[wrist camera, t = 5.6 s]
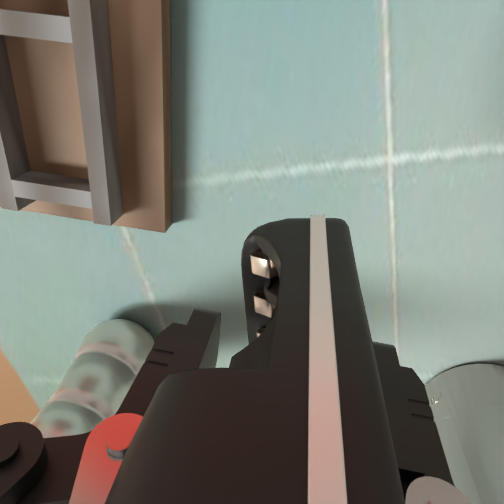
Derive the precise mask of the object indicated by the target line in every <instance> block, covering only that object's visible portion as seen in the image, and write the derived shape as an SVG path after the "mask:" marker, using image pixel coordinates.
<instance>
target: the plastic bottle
mask: <svg viewBox="0 0 504 504" xmlns="http://www.w3.org/2000/svg"><path fill="white" fill-rule="evenodd" d="M154 343H155V342H154V339H153V338H152V336H151V335H150V333H149V332H148V331H147V330H146V329H145V328H143V327H142V326H140V325H139V324H137V323H135V322H132V321H129V320H125V319H114V320H108V321H105V322H102V323H100V324H99V325H97V326H96V327H95V328H94V329H93V330H92V331H91V332H90V333H88V334H87V335H86V337H85V338H84V340H83V342H82V344H81V345H80V347H79V349H78V351H77V353H76V356H75V358H74V361H73V363H72V365H71V367H70V368H69V370H68V372H67V373H66V375H65V376H64V378H63V380H62V381H61V383H60V385H59V386H58V388H57V390H56V391H55V393H54V394H53V396H52V397H51V398H50V399H49V401H48V402H47V403H46V405H45V406H44V407H43V408H42V409H41V411H40V412H39V413H38V414H37V416H36V417H35V418H34V419H33V420H32V422H31V423H30V424H32V425H34V426H36V427H37V428H38V429H39V430H40V431H41V433H42V436H43V438H51V437H61V436H70V435H78V434H83V433H87V432H90V431H92V430H93V429H94V428H95V427H96V426H97V425H98V424H99V423H101V422H102V421H103V420H105V419H107V418H109V417H111V416H114V415H115V413H116V412H117V411H118V409H119V407H120V406H121V404H122V402H123V400H124V398H125V396H126V395H127V393H128V391H129V389H130V387H131V385H132V383H133V382H134V380H135V378H136V376H137V374H138V372H139V371H140V369H141V367H142V365H143V363H145V360H146V358H147V356H148V354H149V352H150V351H151V350H152V347H153V345H154Z"/></svg>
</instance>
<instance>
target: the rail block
mask: <svg viewBox="0 0 504 504" xmlns="http://www.w3.org/2000/svg"><path fill="white" fill-rule="evenodd" d="M0 207H2V208H3V209H9V210H15V211H19V210H25V211H31V212H38V213H44V214H50V215H56V216H63V217H69V218H75V219H81V220H88V221H94V223H97V224H103V225H109V226H111V225H112V224H113V225H119V226H125V227H132V228H138V229H144V230H150V231H157V232H163V233H165V232H166V231H167V230H168V228H169V227H170V226H171V225H172V176H171V32H170V0H0Z"/></svg>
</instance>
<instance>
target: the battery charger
mask: <svg viewBox="0 0 504 504" xmlns="http://www.w3.org/2000/svg"><path fill="white" fill-rule="evenodd" d="M241 267H242V278H243V289H244V299H245V309H246V320H247V330H248V340H249V345H248V346H247V347H245V348H244V349H243V350H241V351H240V352H238V353H237V354H235V355H234V356H232V359H231V362H230V366H229V368H199V369H188V370H185V371H181V372H177V373H174V374H170V375H168V376H167V377H166V378H165V380H164V381H163V382H162V383H161V384H160V385H159V386H158V388H157V390H156V392H155V395H154V397H153V399H152V401H151V403H150V404H149V406H148V408H147V410H146V412H145V414H144V416H143V418H142V421H141V423H140V425H139V427H138V428H137V430H136V432H135V434H134V436H133V438H132V440H131V442H130V444H129V446H128V448H127V451H126V453H125V456H124V458H123V460H122V463H121V465H120V468H119V470H118V473H117V475H116V477H115V480H114V482H113V485H112V487H111V490H110V492H109V494H108V497H107V499H106V502H105V504H405V500H404V495H403V490H402V484H401V479H400V474H399V469H398V464H397V459H396V454H395V449H394V444H393V439H392V435H391V430H390V425H389V420H388V415H387V410H386V405H385V400H384V395H383V391H382V386H381V381H380V376H379V372H378V367H377V362H376V358H375V353H374V348H373V344H372V339H371V334H370V329H369V325H368V320H367V316H366V311H365V307H364V302H363V298H362V293H361V289H360V284H359V279H358V274H357V269H356V263H355V258H354V253H353V247H352V242H351V236H350V231H349V227H348V225H347V224H346V222H345V221H344V220H342V219H337V218H325V215H311V216H310V218H296V219H284V220H280V221H274V222H269V223H267V224H264V225H262V226H260V227H257V228H256V229H255V230H253V231H252V232H251V233H250V234H249V236H248V237H247V239H246V240H245V242H244V245H243V249H242V259H241Z"/></svg>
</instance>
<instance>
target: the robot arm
mask: <svg viewBox="0 0 504 504" xmlns="http://www.w3.org/2000/svg"><path fill="white" fill-rule="evenodd" d="M220 322H221V313H218V312H213V311H207V310H202V309H194V311H193V313H192V315H191V317H190V319H189V321H188V324H187V325H183V324H177V323H173V324H171V325H170V326H169V327H167V328H166V329H165V330H164V331H162V332H161V333H160V334H159V336H158V338H157V339H156V341H155V343H154V345H153V347H152V350H151V351H150V352H149V354H148V356H147V358H146V360H145V363H143V365H142V367H141V369H140V371H139V372H138V374H137V376H136V378H135V380H134V382H133V383H132V385H131V387H130V389H129V391H128V393H127V395H126V396H125V398H124V400H123V402H122V404H121V406H120V407H119V409H118V411H117V412H116V413H115V415H114V416H111V417H109V418H107V419H105V420H103V421H102V422H101V423H99V424H98V425H97V426H96V427H95V428H94V429H93V430H92V431H90V432H87V433H83V434H78V435H70V436H61V437H51V438H43V436H42V433H41V431H40V430H39V429H38V428H37V427H36V426H34V425H32V424H30V423H26V422H13V423H8V424H4V425H1V426H0V504H105V502H106V499H107V497H108V494H109V492H110V490H111V487H112V485H113V482H114V480H115V477H116V475H117V473H118V470H119V468H120V465H121V463H122V460H123V458H124V456H125V453H126V451H127V448H128V446H129V444H130V442H131V440H132V438H133V436H134V434H135V432H136V430H137V428H138V427H139V425H140V423H141V421H142V418H143V416H144V414H145V412H146V410H147V408H148V406H149V404H150V403H151V401H152V399H153V397H154V395H155V392H156V390H157V388H158V386H159V385H160V384H161V383H162V382H163V381H164V380H165V378H166V377H167V376H168V375H170V374H174V373H177V372H181V371H185V370H188V369H199V368H215V366H216V362H217V356H218V346H219V334H220ZM372 344H373V348H374V353H375V358H376V362H377V367H378V372H379V376H380V381H381V386H382V391H383V395H384V400H385V405H386V410H387V415H388V420H389V425H390V430H391V435H392V439H393V444H394V449H395V454H396V459H397V464H398V469H399V474H400V479H401V484H402V490H403V495H404V500H405V504H504V366H499V365H494V364H470V365H463V366H459V367H455V368H452V369H450V370H447V371H445V372H443V373H441V374H439V375H438V376H436V377H434V378H433V379H432V380H431V381H430V382H428V383H427V384H426V385H424V384H423V383H422V381H421V380H420V378H419V377H418V376H417V374H416V373H415V372H414V370H413V369H412V368H407V367H402V366H400V365H399V360H398V356H397V352H396V348H395V347H394V346H393V345H389V344H383V343H378V342H373V341H372Z"/></svg>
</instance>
